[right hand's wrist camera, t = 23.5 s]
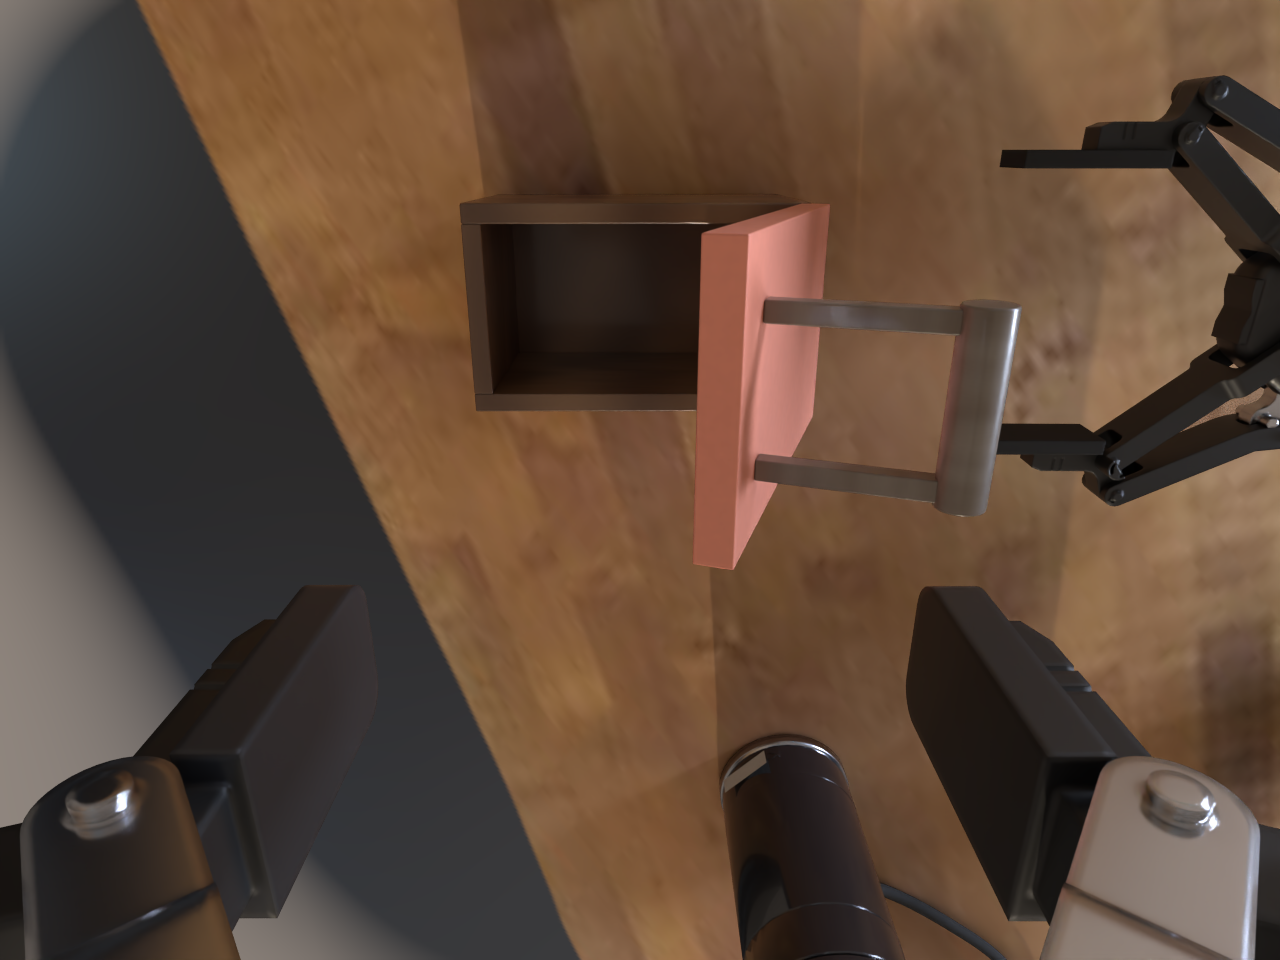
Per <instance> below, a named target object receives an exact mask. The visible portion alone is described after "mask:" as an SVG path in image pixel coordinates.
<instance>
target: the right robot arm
mask: <svg viewBox="0 0 1280 960" xmlns="http://www.w3.org/2000/svg"><path fill="white" fill-rule="evenodd" d="M377 695H378V677H377V669H376V662H375V655H374V649H373V642H372V635H371V628H370V621H369V614H368V608H367V602H366V597H365V593H364V591H363V589H362V588H361V587H360V586H358V585H306V586H304V587H302V588H301V589H300V590H299V592H298V593H297V594H296V595H295V597H294V598H293V599H292V600H291V602H290V603H289V604H288V605H287V607H286V608H285V609H284V610H283V612H282V613H281V614H280V615H279V617H278V618H277V619H276V620H263V621H262V622H260V623H259V624H257V625H255V626H254V627H252V628H251V629H249V630H247V631H246V632H244V633H243V634H241V635H240V636H238V637H236V638H235V639H233V640H232V641H231V642H230V643H229V645H228V646H227V647H226V648H225V649H224V650H223V652H222V653H221V654H220V655H219V656H218V657H217V659H216V660H215V661H214V662H213V663H212V668H211V669H207V670H206V672H205V673H204V674H203V675H202V676H201V677H200V679H199V680H198V681H197V682H196V683H195V687H194V690H189V691H188V693H187V694H186V695H185V696H184V697H183V698H182V700H181V701H180V702H179V703H178V704H177V706H176V707H175V708H174V709H173V710H172V711H171V713H170V714H169V715H168V716H167V717H166V718H165V720H164V721H163V722H162V723H161V724H160V726H159V727H158V728H157V729H156V730H155V731H154V733H153V734H152V735H151V736H150V737H149V738H148V740H147V741H146V742H145V743H144V744H143V745H142V747H141V748H140V749H139V750H138V751H137V752H136V754H135V755H134V756H133V757H126V758H121V759H116V760H112V761H108V762H105V763H102V764H99V765H96V766H93V767H91V768H88V769H86V770H83V771H81V772H79V773H77V774H75V775H73V776H71V777H70V778H68V779H66V780H65V781H63V782H61V783H60V784H58V785H57V786H55V787H54V788H53V789H51V790H50V791H49V792H47V793H46V794H45V795H44V796H43V797H42V798H41V799H40V800H38V801H37V803H36V804H35V805H34V806H33V807H32V808H31V809H30V811H29V812H28V814H27V815H26V817H25V818H24V821H23V823H20V824H15V825H11V826H6V827H2V828H0V960H241V959H240V956H239V953H238V950H237V947H236V943H235V940H234V937H233V934H232V931H233V929H234V927H235V925H236V923H237V922H238V919H239V918H278V916H279V913H280V911H281V909H282V907H283V905H284V903H285V901H286V899H287V897H288V895H289V893H290V891H291V888H292V886H293V884H294V882H295V880H296V878H297V876H298V874H299V872H300V870H301V868H302V866H303V863H304V861H305V859H306V857H307V855H308V853H309V851H310V849H311V847H312V845H313V843H314V840H315V838H316V836H317V834H318V832H319V830H320V828H321V826H322V824H323V822H324V820H325V818H326V815H327V813H328V811H329V809H330V807H331V805H332V803H333V801H334V799H335V797H336V795H337V792H338V790H339V788H340V786H341V784H342V782H343V780H344V778H345V776H346V774H347V772H348V770H349V768H350V765H351V763H352V761H353V759H354V757H355V755H356V753H357V751H358V749H359V747H360V744H361V742H362V740H363V738H364V736H365V734H366V732H367V730H368V728H369V726H370V724H371V721H372V719H373V716H374V713H375V709H376V703H377ZM906 697H907V705H908V710H909V714H910V717H911V721H912V723H913V725H914V727H915V729H916V731H917V733H918V735H919V738H920V740H921V742H922V744H923V746H924V748H925V750H926V752H927V754H928V756H929V758H930V760H931V762H932V764H933V766H934V768H935V770H936V773H937V775H938V777H939V779H940V781H941V783H942V785H943V787H944V789H945V791H946V793H947V795H948V797H949V799H950V801H951V803H952V806H953V808H954V810H955V812H956V814H957V816H958V818H959V820H960V822H961V824H962V826H963V828H964V830H965V832H966V834H967V836H968V838H969V841H970V843H971V845H972V847H973V849H974V851H975V853H976V855H977V857H978V859H979V861H980V863H981V865H982V867H983V869H984V871H985V873H986V876H987V878H988V880H989V882H990V884H991V886H992V888H993V890H994V892H995V894H996V896H997V898H998V900H999V902H1000V904H1001V906H1002V908H1003V911H1004V913H1005V915H1006V917H1007V919H1008V921H1047V922H1048V924H1049V926H1050V928H1049V931H1048V934H1047V937H1046V940H1045V943H1044V947H1043V950H1042V953H1041V956H1040V959H1039V960H1280V829H1277V828H1273V827H1268V826H1265V825H1261V824H1258V823H1257V821H1256V818H1255V817H1254V815H1253V814H1252V812H1251V811H1250V809H1249V808H1248V807H1247V806H1246V805H1245V804H1244V803H1243V801H1242V800H1241V799H1239V798H1238V797H1237V796H1236V795H1235V794H1234V793H1233V792H1231V791H1230V790H1229V789H1227V788H1226V787H1225V786H1223V785H1222V784H1220V783H1219V782H1217V781H1215V780H1214V779H1212V778H1210V777H1209V776H1207V775H1205V774H1203V773H1201V772H1199V771H1197V770H1194V769H1192V768H1189V767H1187V766H1184V765H1182V764H1178V763H1175V762H1172V761H1169V760H1164V759H1160V758H1154V757H1152V756H1151V755H1150V754H1149V753H1148V752H1147V751H1146V749H1145V748H1144V747H1143V746H1142V745H1141V744H1140V742H1139V741H1138V740H1137V739H1136V738H1135V737H1134V735H1133V734H1132V733H1131V732H1130V731H1129V730H1128V729H1127V727H1126V726H1125V725H1124V724H1123V723H1122V722H1121V720H1120V719H1119V718H1118V717H1117V716H1116V715H1115V713H1114V712H1113V711H1112V710H1111V709H1110V708H1109V706H1108V705H1107V704H1106V703H1105V702H1104V701H1103V699H1102V698H1101V697H1100V696H1099V695H1098V694H1097V692H1092V691H1091V686H1090V684H1089V683H1088V682H1087V681H1086V680H1085V679H1084V677H1083V676H1082V675H1081V674H1080V673H1079V672H1078V671H1074V666H1073V665H1072V663H1071V662H1070V661H1069V660H1068V659H1067V658H1066V656H1065V655H1064V654H1063V653H1062V652H1061V651H1060V649H1059V648H1058V647H1057V646H1056V645H1055V644H1054V643H1053V642H1052V641H1051V640H1049V639H1048V638H1046V637H1045V636H1043V635H1041V634H1040V633H1038V632H1037V631H1035V630H1034V629H1032V628H1030V627H1029V626H1027V625H1026V624H1024V623H1023V622H1021V621H1008V619H1007V618H1006V617H1005V616H1004V614H1003V613H1002V612H1001V611H1000V609H999V608H998V607H997V606H996V605H995V603H994V602H993V601H992V600H991V598H990V597H989V596H988V595H987V593H986V592H985V591H984V590H983V589H982V588H980V587H977V586H927V587H925V588H923V590H922V591H921V593H920V595H919V599H918V604H917V610H916V617H915V623H914V630H913V637H912V644H911V650H910V657H909V664H908V670H907V678H906ZM719 789H720V798H721V804H722V808H723V811H724V818H725V826H726V836H727V843H728V851H729V859H730V866H731V874H732V882H733V889H734V897H735V904H736V912H737V920H738V927H739V935H740V943H741V950H742V958H743V960H905V957H904V954H903V951H902V948H901V945H900V942H899V939H898V937H897V934H896V931H895V928H894V925H893V921H892V918H891V915H890V912H889V909H888V906H887V903H886V900H885V898H888V899H890V900H893V901H895V902H897V903H899V904H902V905H904V906H906V907H908V908H910V909H912V910H914V911H916V912H917V913H919V914H921V915H923V916H925V917H927V918H928V919H930V920H932V921H934V922H935V923H937V924H939V925H940V926H942V927H944V928H945V929H947V930H949V931H950V932H952V933H954V934H955V935H957V936H958V937H960V938H962V939H963V940H965V941H966V942H968V943H969V944H971V945H972V946H974V947H975V948H977V949H978V950H980V951H981V952H982V953H984V954H985V955H986V956H988V957H989V958H990V959H991V960H1007V959H1006V958H1005V957H1004V956H1003V955H1002V954H1000V953H999V952H998V951H997V950H996V949H995V948H994V947H992V946H991V945H990V944H989V943H987V942H986V941H985V940H983V939H982V938H981V937H979V936H978V935H976V934H975V933H973V932H972V931H970V930H969V929H967V928H965V927H964V926H962V925H961V924H959V923H957V922H956V921H954V920H953V919H951V918H949V917H948V916H946V915H944V914H943V913H941V912H939V911H938V910H936V909H934V908H933V907H931V906H929V905H927V904H925V903H924V902H922V901H920V900H918V899H916V898H914V897H912V896H910V895H908V894H906V893H904V892H902V891H899V890H897V889H895V888H893V887H890V886H888V885H885V884H882V883H880V882H879V879H878V876H877V873H876V870H875V867H874V864H873V861H872V858H871V855H870V852H869V849H868V846H867V843H866V840H865V837H864V833H863V830H862V827H861V824H860V821H859V818H858V815H857V812H856V808H855V805H854V802H853V799H852V796H851V793H850V790H849V786H848V781H847V777H846V774H845V771H844V768H843V766H842V763H841V762H840V760H839V758H838V757H837V756H836V754H835V753H834V752H833V751H832V750H831V749H829V748H828V747H827V746H825V745H824V744H822V743H820V742H819V741H816V740H814V739H811V738H808V737H804V736H799V735H790V734H785V735H774V736H769V737H765V738H762V739H759V740H756V741H754V742H752V743H750V744H748V745H746V746H745V747H743V748H742V749H740V750H739V751H738V752H737V753H736V754H734V755H733V756H732V758H731V759H730V760H729V761H728V763H727V764H726V766H725V768H724V770H723V772H722V775H721V778H720V788H719Z"/></svg>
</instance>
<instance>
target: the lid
mask: <svg viewBox="0 0 1280 960" xmlns="http://www.w3.org/2000/svg"><path fill="white" fill-rule="evenodd" d="M829 214H830V204H804V203H802V204H799V205H795V206H792V207H788V208H785V209H782V210H778V211H775V212H771V213H768V214H765V215H761V216H758V217H754V218H751V219H748V220H744V221H741V222H737V223H734V224H731V225H727V226H724V227H720V228H717V229H714V230H710V231H707V232H704V233H702V235H701V270H700V308H699V345H698V383H697V421H696V458H695V496H694V534H693V564H698V565H704V566H710V567H716V568H722V569H728V570H733V569H734V568H735V566H736V564H737V562H738V560H739V558H740V556H741V554H742V552H743V550H744V548H745V546H746V544H747V542H748V540H749V538H750V537H751V535H752V533H753V531H754V529H755V527H756V525H757V523H758V521H759V519H760V517H761V515H762V513H763V511H764V509H765V507H766V506H767V504H768V502H769V500H770V498H771V496H772V494H773V492H774V490H775V488H776V486H777V484H786V485H794V486H802V487H810V488H818V489H826V490H834V491H842V492H850V493H858V494H866V495H874V496H882V497H890V498H898V499H906V500H914V501H922V502H930V503H932V505H933V507H934V508H936V509H937V510H939V511H941V512H944V513H946V514H950V515H954V516H962V517H974V516H979V515H982V514H984V513H985V511H986V510H987V504H988V499H989V493H990V487H991V482H992V476H993V470H994V465H995V459H996V453H997V448H998V442H999V436H1000V431H1001V425H1002V419H1003V414H1004V408H1005V402H1006V396H1007V391H1008V385H1009V379H1010V374H1011V368H1012V362H1013V357H1014V351H1015V345H1016V340H1017V334H1018V328H1019V323H1020V317H1021V311H1022V307H1021V305H1019V304H1016V303H1012V302H1007V301H999V300H968V301H964V302H962V303H961V304H960V306H945V305H926V304H907V303H887V302H868V301H849V300H830V299H822V298H823V286H824V274H825V262H826V250H827V238H828V226H829ZM820 327H825V328H841V329H857V330H873V331H889V332H905V333H921V334H937V335H953V336H956V337H955V344H954V351H953V357H952V364H951V371H950V378H949V385H948V391H947V398H946V405H945V412H944V419H943V425H942V432H941V439H940V446H939V453H938V459H937V466H936V473H926V472H917V471H909V470H900V469H891V468H882V467H874V466H865V465H856V464H847V463H839V462H830V461H821V460H812V459H804V458H795V457H792V455H793V453H794V451H795V449H796V447H797V445H798V444H799V442H800V440H801V438H802V436H803V434H804V432H805V430H806V428H807V426H808V424H809V422H810V420H811V418H812V416H813V406H814V394H815V382H816V370H817V358H818V346H819V334H820Z"/></svg>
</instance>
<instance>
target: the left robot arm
mask: <svg viewBox="0 0 1280 960" xmlns="http://www.w3.org/2000/svg"><path fill="white" fill-rule="evenodd" d="M1171 100H1172V104H1171V106H1170V108H1169V109H1168V111H1167V112H1166V114H1165V115H1164V116H1163V117H1162V118H1160V119H1159V120H1157V121H1155V122H1100V123H1096V124H1093V125H1091V126H1088V127H1086V129H1085V134H1084V139H1083V144H1082V149H1081V150H1002V155H1001V162H1000V167H1010V168H1168V169H1169V171H1170V172H1171V173H1172V174H1173V175H1174V176H1175V177H1176V179H1177V180H1178V181H1179V182H1180V183H1181V184H1182V185H1183V187H1184V188H1185V189H1186V190H1187V191H1188V192H1189V194H1190V195H1191V196H1192V197H1193V198H1194V199H1195V200H1196V202H1197V203H1198V204H1199V205H1200V206H1201V207H1202V208H1203V210H1204V211H1205V212H1206V213H1207V214H1208V215H1209V217H1210V218H1211V219H1212V220H1213V221H1214V222H1215V223H1216V225H1217V226H1218V227H1219V228H1220V229H1221V230H1222V231H1223V233H1224V234H1225V235H1226V237H1225V238H1224V239H1225V241H1226V243H1227V244H1228V245H1229V246H1230V247H1231V249H1232V250H1233V251H1234V252H1235V253H1236V254H1237V255H1238V257H1239V258H1240V259H1241V260H1242V261H1243V263H1242V264H1241V265H1240V266H1239V267H1238V268H1237V270H1236V271H1235V273H1229V274H1228V277H1227V281H1226V284H1225V288H1224V306H1223V308H1222V310H1221V311H1220V313H1219V315H1218V317H1217V319H1216V321H1215V324H1214V327H1213V331H1212V335H1211V336H1214V337H1216V340H1217V344H1216V345H1215V346H1213V347H1212V348H1210V349H1209V350H1207V351H1206V352H1204V353H1203V354H1201V355H1200V356H1198V357H1197V358H1195V359H1194V360H1193V361H1192V362H1191V363H1190V368H1189V369H1188V370H1187V371H1185V372H1184V373H1182V374H1181V375H1179V376H1178V377H1176V378H1175V379H1173V380H1172V381H1170V382H1169V383H1167V384H1166V385H1164V386H1163V387H1161V388H1160V389H1158V390H1157V391H1155V392H1154V393H1152V394H1151V395H1149V396H1148V397H1146V398H1145V399H1143V400H1142V401H1140V402H1139V403H1137V404H1136V405H1134V406H1133V407H1131V408H1130V409H1128V410H1127V411H1125V412H1124V413H1122V414H1121V415H1119V416H1118V417H1116V418H1115V419H1113V420H1112V421H1110V422H1109V423H1107V424H1106V425H1104V426H1103V427H1101V428H1100V429H1098V430H1097V431H1095V432H1094V433H1093V432H1091V431H1090V430H1088V429H1087V428H1085V427H1083V426H1082V425H1080V424H1002V425H1001V431H1000V436H999V442H998V448H997V453H996V454H1013V455H1021V456H1020V458H1021V459H1023V460H1024V461H1025V462H1026V463H1027V464H1028V465H1030V466H1031V467H1032V468H1035V469H1037V470H1040V471H1084V473H1085V474H1084V475H1083V477H1082V483H1083V485H1084V486H1085V487H1086V488H1087V489H1089V490H1090V491H1091V492H1092V493H1094V494H1095V495H1096V496H1098V497H1099V498H1100V499H1101V500H1103V501H1104V502H1105V503H1107V504H1108V505H1110V506H1118V505H1121V504H1124V503H1126V502H1129V501H1131V500H1134V499H1136V498H1139V497H1141V496H1144V495H1146V494H1149V493H1151V492H1154V491H1156V490H1159V489H1161V488H1164V487H1166V486H1169V485H1171V484H1174V483H1176V482H1179V481H1181V480H1184V479H1186V478H1189V477H1191V476H1194V475H1196V474H1199V473H1201V472H1204V471H1206V470H1209V469H1211V468H1214V467H1216V466H1219V465H1222V464H1224V463H1227V462H1229V461H1232V460H1234V459H1237V458H1239V457H1242V456H1244V455H1247V454H1249V453H1252V452H1254V451H1263V450H1273V449H1280V214H1279V213H1278V212H1277V211H1276V210H1275V209H1274V207H1273V206H1272V205H1271V204H1270V203H1269V201H1268V200H1267V199H1266V198H1265V197H1264V195H1263V194H1262V193H1261V192H1260V191H1259V189H1258V188H1257V187H1256V186H1255V185H1254V183H1253V182H1252V181H1251V180H1250V179H1249V178H1248V176H1247V175H1246V174H1245V173H1244V172H1243V170H1242V169H1241V168H1240V167H1239V166H1238V164H1237V163H1236V162H1235V161H1234V160H1233V158H1232V157H1231V156H1230V155H1229V154H1228V152H1227V151H1226V150H1225V149H1224V148H1223V146H1222V145H1221V144H1220V143H1219V142H1218V141H1217V139H1216V138H1215V137H1214V136H1213V135H1212V133H1211V132H1210V131H1209V130H1208V129H1207V127H1208V128H1210V129H1211V130H1213V131H1214V132H1216V133H1218V134H1219V135H1221V136H1222V137H1224V138H1226V139H1227V140H1229V141H1230V142H1232V143H1233V144H1235V145H1237V146H1238V147H1240V148H1241V149H1243V150H1245V151H1246V152H1248V153H1249V154H1251V155H1253V156H1254V157H1256V158H1257V159H1259V160H1261V161H1262V162H1264V163H1265V164H1267V165H1269V166H1270V167H1272V168H1273V169H1275V170H1277V171H1278V172H1280V109H1278V108H1277V107H1275V106H1273V105H1272V104H1270V103H1269V102H1267V101H1266V100H1264V99H1263V98H1261V97H1259V96H1258V95H1256V94H1255V93H1253V92H1252V91H1250V90H1249V89H1247V88H1245V87H1244V86H1242V85H1241V84H1239V83H1238V82H1236V81H1235V80H1233V79H1231V78H1230V77H1228V76H1224V75H1223V76H1214V77H1206V78H1198V79H1192V80H1185V81H1182V82H1180V83H1179V84H1178V85H1177V86H1176V87H1175V88H1174V90H1173V92H1172V96H1171ZM1232 364H1235V365H1236V366H1237V367H1238V368H1231V367H1229V366H1231V365H1232ZM1260 387H1262V388H1264V389H1265V390H1264V393H1263V395H1262V396H1261V398H1260V399H1258V400H1257V401H1255V402H1253V403H1250V404H1247V405H1244V404H1243V405H1239V406H1238V407H1237V408H1236V414H1230V415H1225V416H1221V417H1217V418H1215V419H1212V420H1209V421H1207V422H1204V423H1202V424H1199V425H1197V426H1195V427H1192V428H1190V429H1187V430H1185V431H1182V430H1184V429H1185V428H1187V427H1188V426H1190V425H1191V424H1193V423H1195V422H1196V421H1198V420H1199V419H1201V418H1202V417H1204V416H1205V415H1207V414H1208V413H1210V412H1211V411H1213V410H1215V409H1216V408H1218V407H1219V406H1221V405H1222V404H1224V403H1225V402H1227V401H1229V400H1231V399H1234V398H1242V397H1245V396H1247V395H1249V394H1251V393H1252V392H1254V391H1255V390H1257V389H1259V388H1260ZM1181 431H1182V432H1181ZM1179 432H1180V433H1179Z"/></svg>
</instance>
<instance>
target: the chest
mask: <svg viewBox="0 0 1280 960" xmlns="http://www.w3.org/2000/svg"><path fill="white" fill-rule="evenodd" d="M802 203H804V204H812V203H809V202H805V201H801V200H797V199H793V198H788V197H784V196H780V195H776V194H678V195H495V196H490V197H486V198H481V199H477V200H473V201H468V202H464V203H460V215H461V223H462V225H461V229H462V241H463V254H464V266H465V278H466V291H467V303H468V316H469V328H470V340H471V353H472V365H473V378H474V390H475V402H476V410H477V411H697V383H698V345H699V308H700V270H701V235H702V233H704V232H707V231H710V230H714V229H717V228H720V227H724V226H727V225H731V224H734V223H737V222H741V221H744V220H748V219H751V218H754V217H758V216H761V215H765V214H768V213H771V212H775V211H778V210H782V209H785V208H788V207H792V206H795V205H799V204H802Z"/></svg>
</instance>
